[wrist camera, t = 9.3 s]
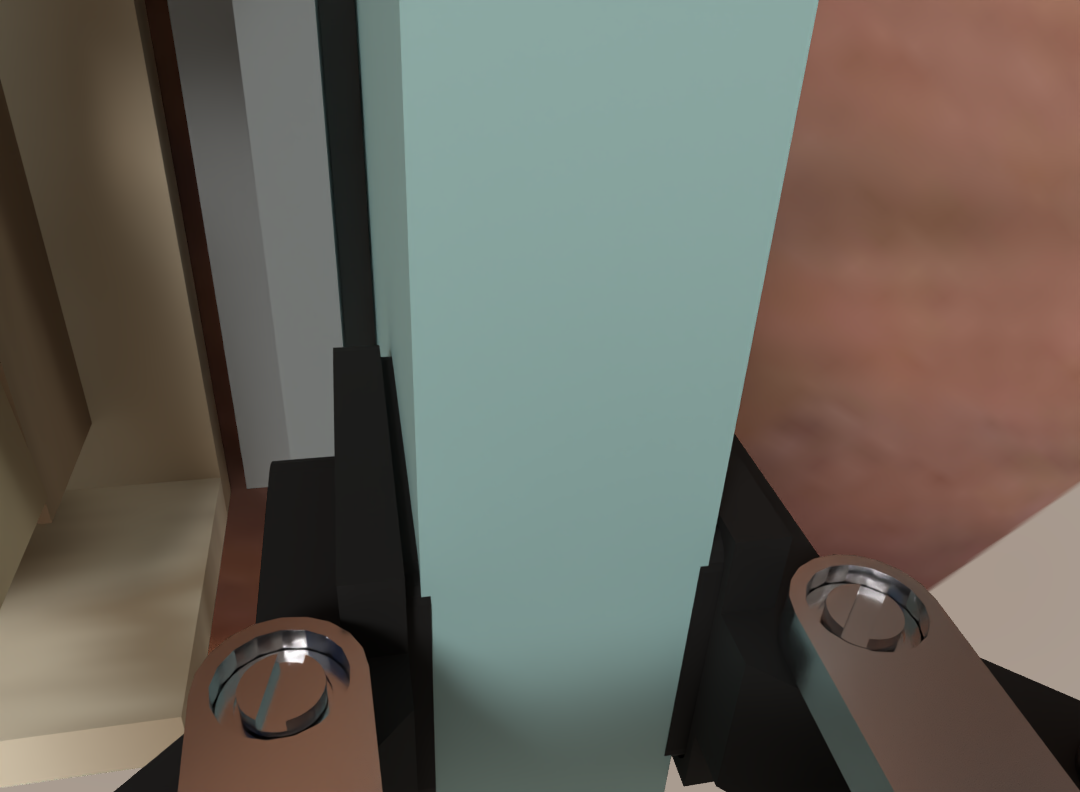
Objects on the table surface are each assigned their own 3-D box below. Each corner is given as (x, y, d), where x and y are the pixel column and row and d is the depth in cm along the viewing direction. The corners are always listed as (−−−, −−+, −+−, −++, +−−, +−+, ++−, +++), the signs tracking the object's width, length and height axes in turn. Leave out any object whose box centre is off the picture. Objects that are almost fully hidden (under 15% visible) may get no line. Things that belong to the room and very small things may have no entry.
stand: (648, -214, 16) (736, -229, 13) (588, 446, 24) (632, 547, 21) (132, -251, 15) (72, -280, 11) (248, 474, 22) (234, 590, 19)
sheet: (483, -132, 16) (833, -72, 5) (478, 427, 22) (625, 990, 11) (345, -139, 15) (396, -86, 4) (381, 434, 21) (437, 1030, 11)
